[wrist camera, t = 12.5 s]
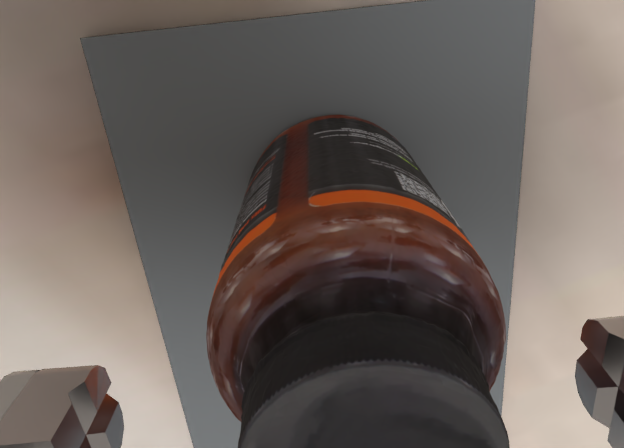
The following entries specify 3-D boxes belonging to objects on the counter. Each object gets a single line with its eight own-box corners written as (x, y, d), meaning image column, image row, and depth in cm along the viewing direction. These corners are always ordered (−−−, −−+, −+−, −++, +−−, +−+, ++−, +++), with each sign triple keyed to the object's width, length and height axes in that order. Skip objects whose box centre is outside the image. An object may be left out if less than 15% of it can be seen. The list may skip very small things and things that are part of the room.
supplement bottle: (253, 266, 18) (177, 601, 8) (247, 108, 16) (126, 297, 6) (410, 269, 18) (534, 604, 8) (428, 111, 16) (638, 304, 6)
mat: (85, 37, 15) (80, 38, 15) (530, -11, 15) (536, -12, 14) (208, 488, 24) (206, 495, 24) (493, 467, 23) (496, 475, 23)
